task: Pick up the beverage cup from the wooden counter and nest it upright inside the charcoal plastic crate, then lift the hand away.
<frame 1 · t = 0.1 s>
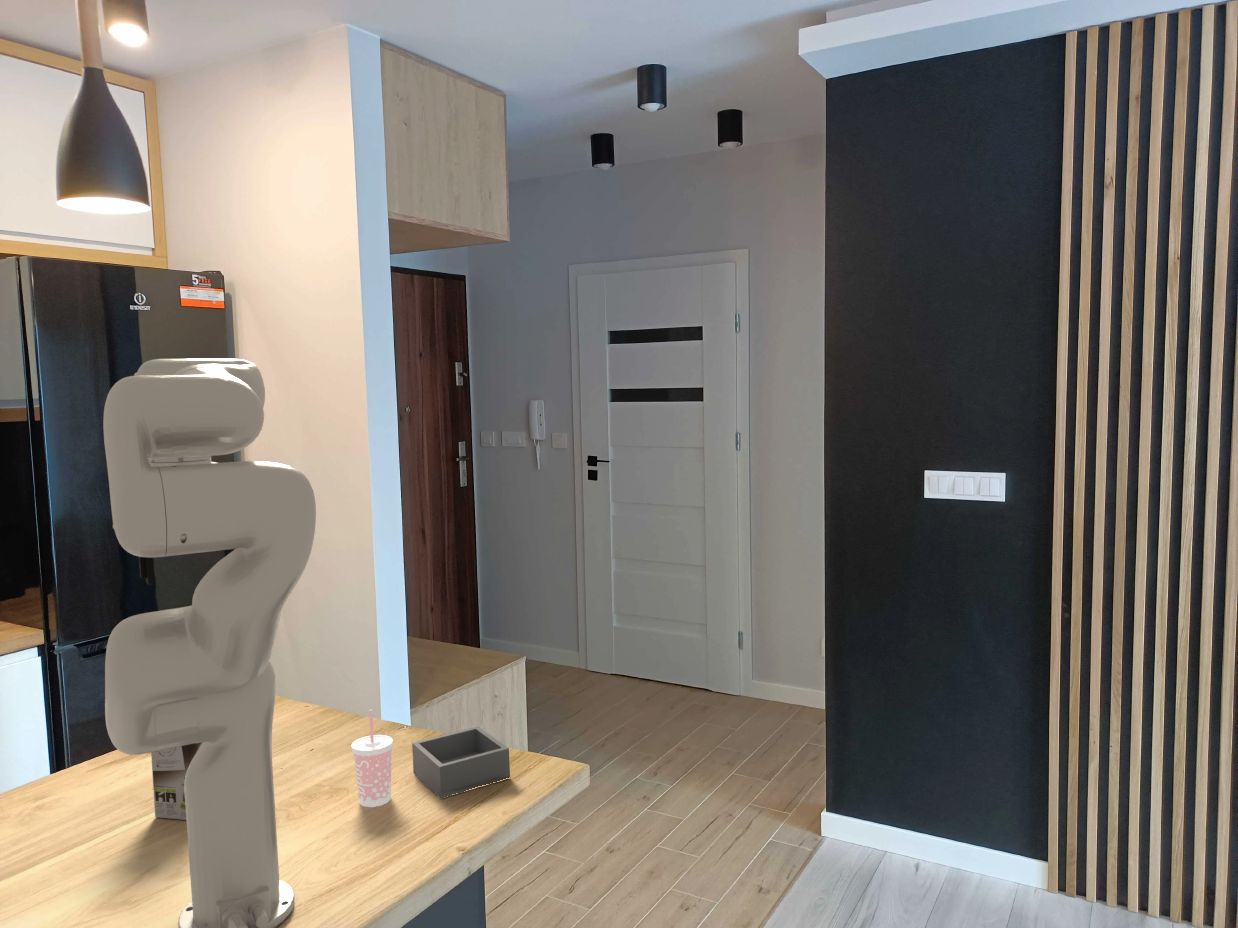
hand: (189, 577, 122), 37 cm above the table, tool pointing down, fingers open, 9 cm apart
beverage cup: (375, 801, 134), on the table
coffee box: (193, 806, 134), on the table
crate: (461, 775, 141), on the table
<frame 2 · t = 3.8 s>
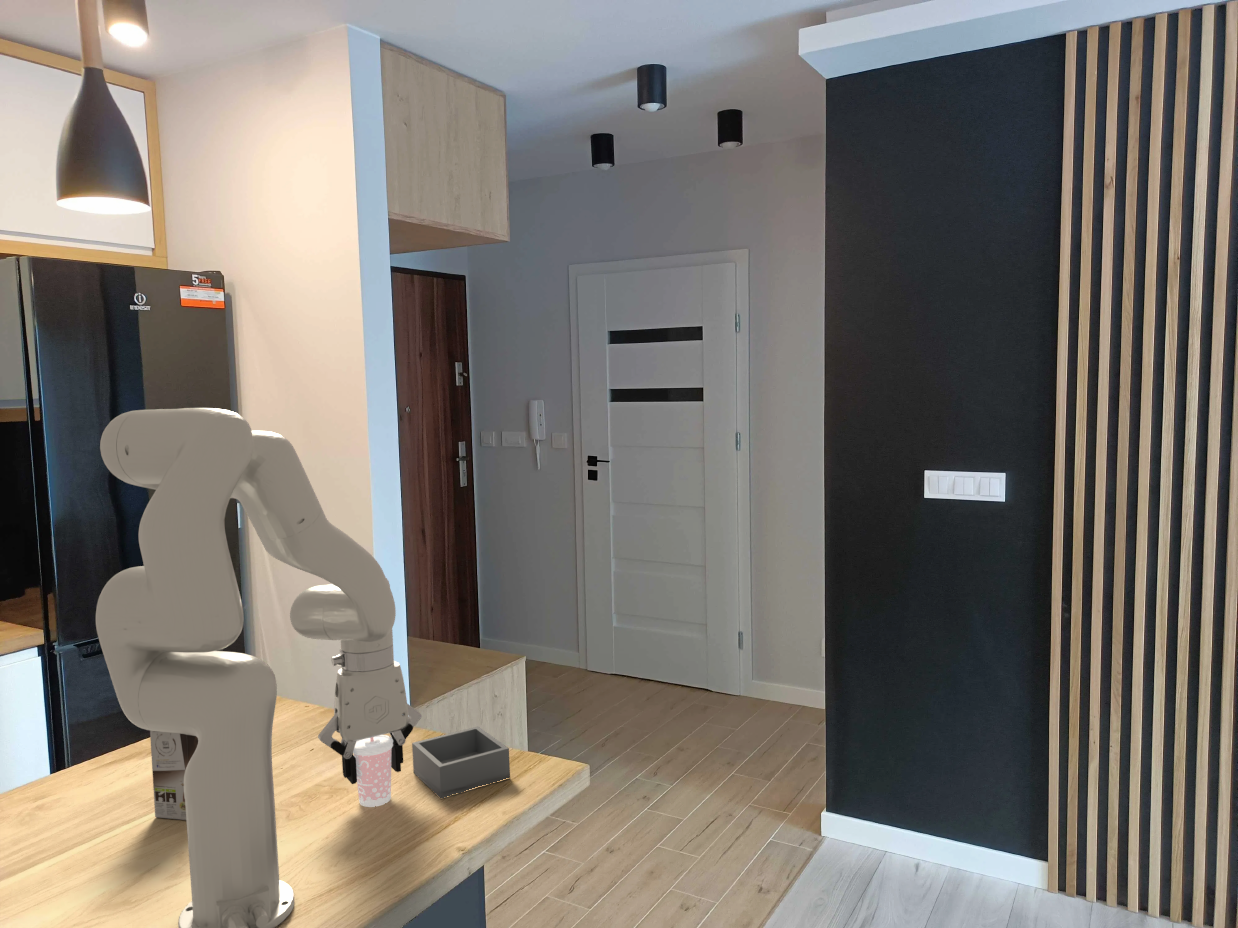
hand: (373, 773, 134), 4 cm above the table, tool pointing down, fingers closed on beverage cup, 6 cm apart
beverage cup: (375, 801, 134), on the table, touching gripper
everything else where it was.
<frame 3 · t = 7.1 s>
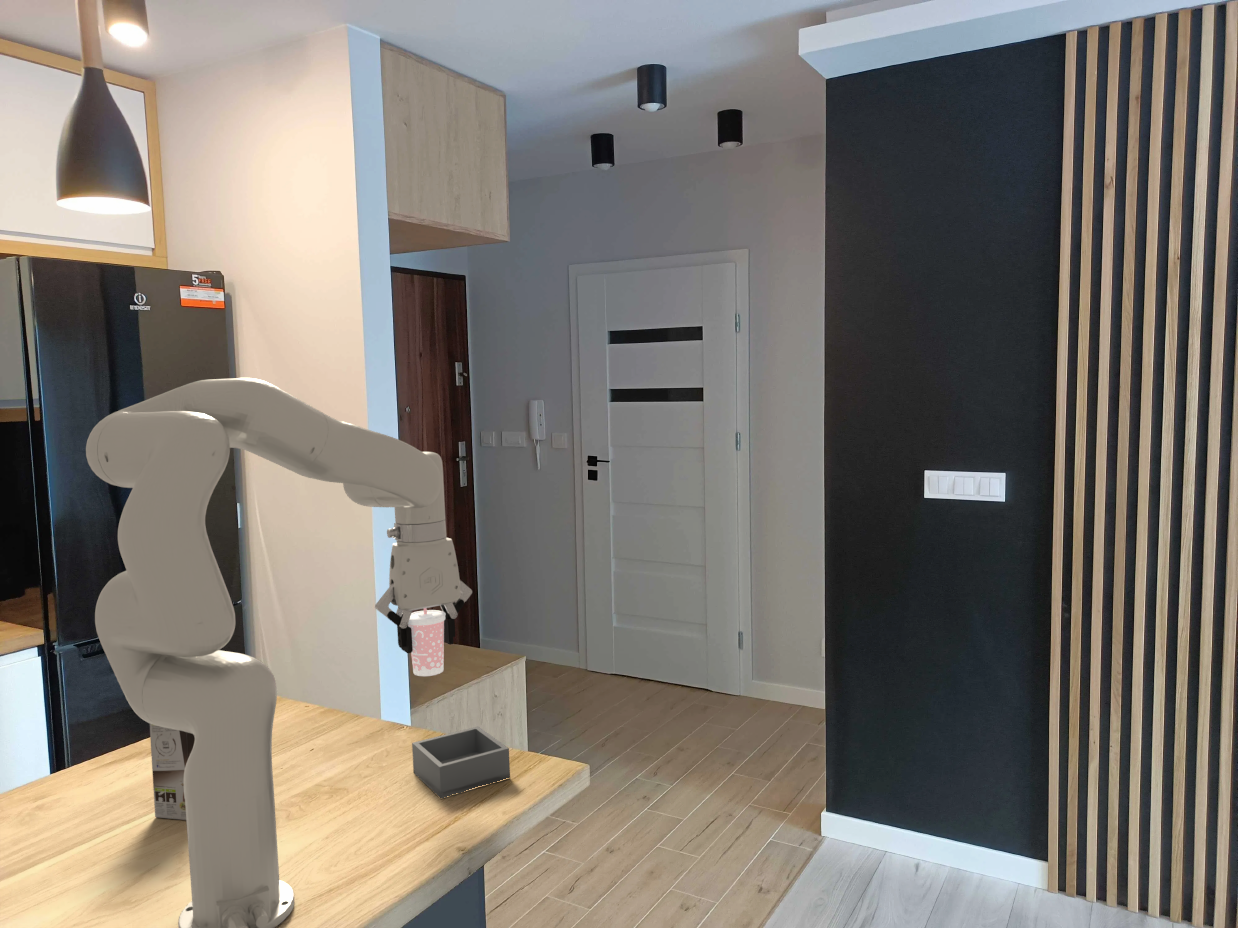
hand: (427, 645, 137), 22 cm above the table, tool pointing down, fingers closed on beverage cup, 6 cm apart
beverage cup: (428, 672, 138), point 18 cm above the table, touching gripper
everything else where it was.
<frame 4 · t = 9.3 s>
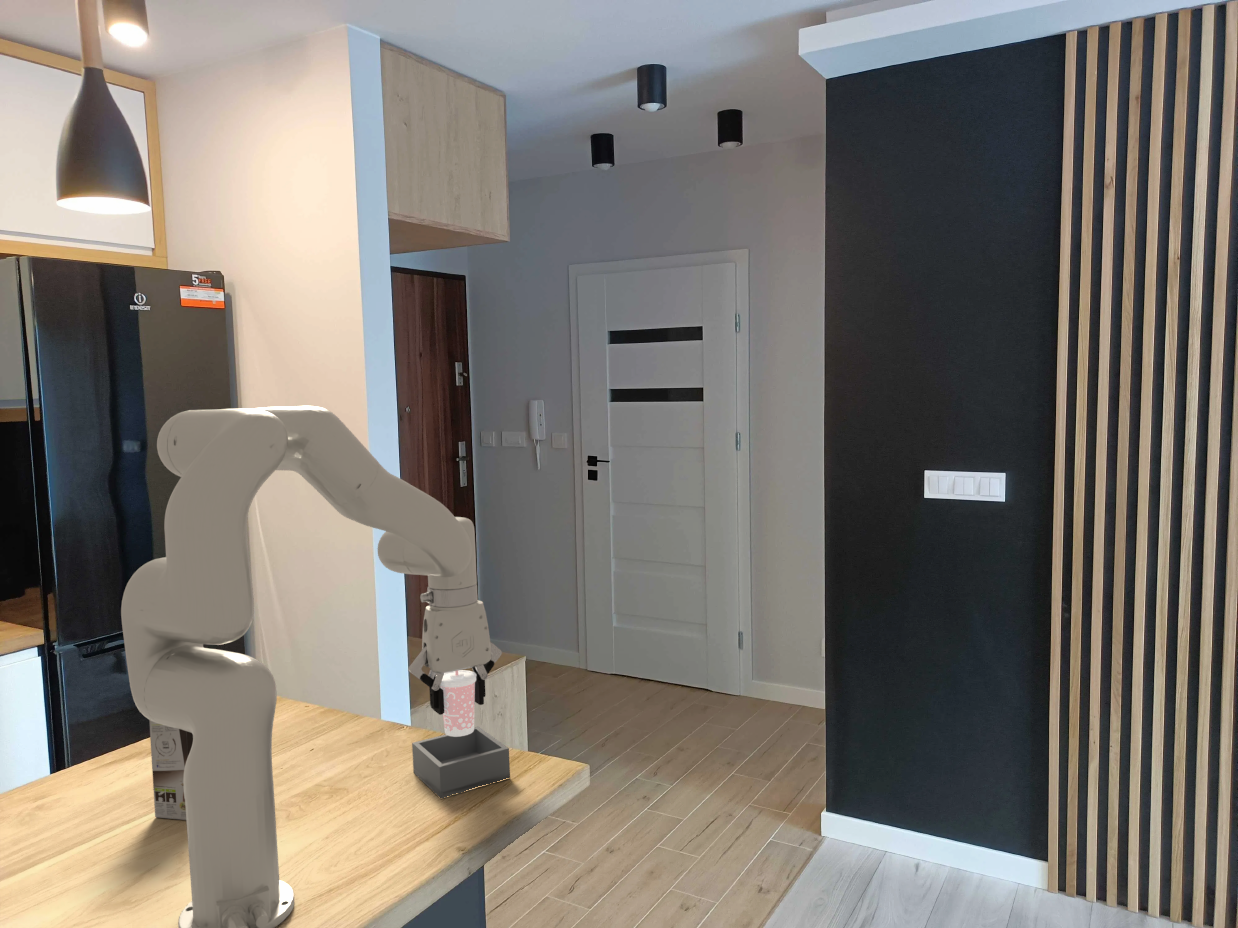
hand: (458, 706, 141), 11 cm above the table, tool pointing down, fingers closed on beverage cup, 6 cm apart
beverage cup: (459, 732, 141), point 7 cm above the table, touching gripper
everything else where it was.
when the fingers open (7 cm above the table, at t = 10.7 s): beverage cup drops 2 cm, resting on crate.
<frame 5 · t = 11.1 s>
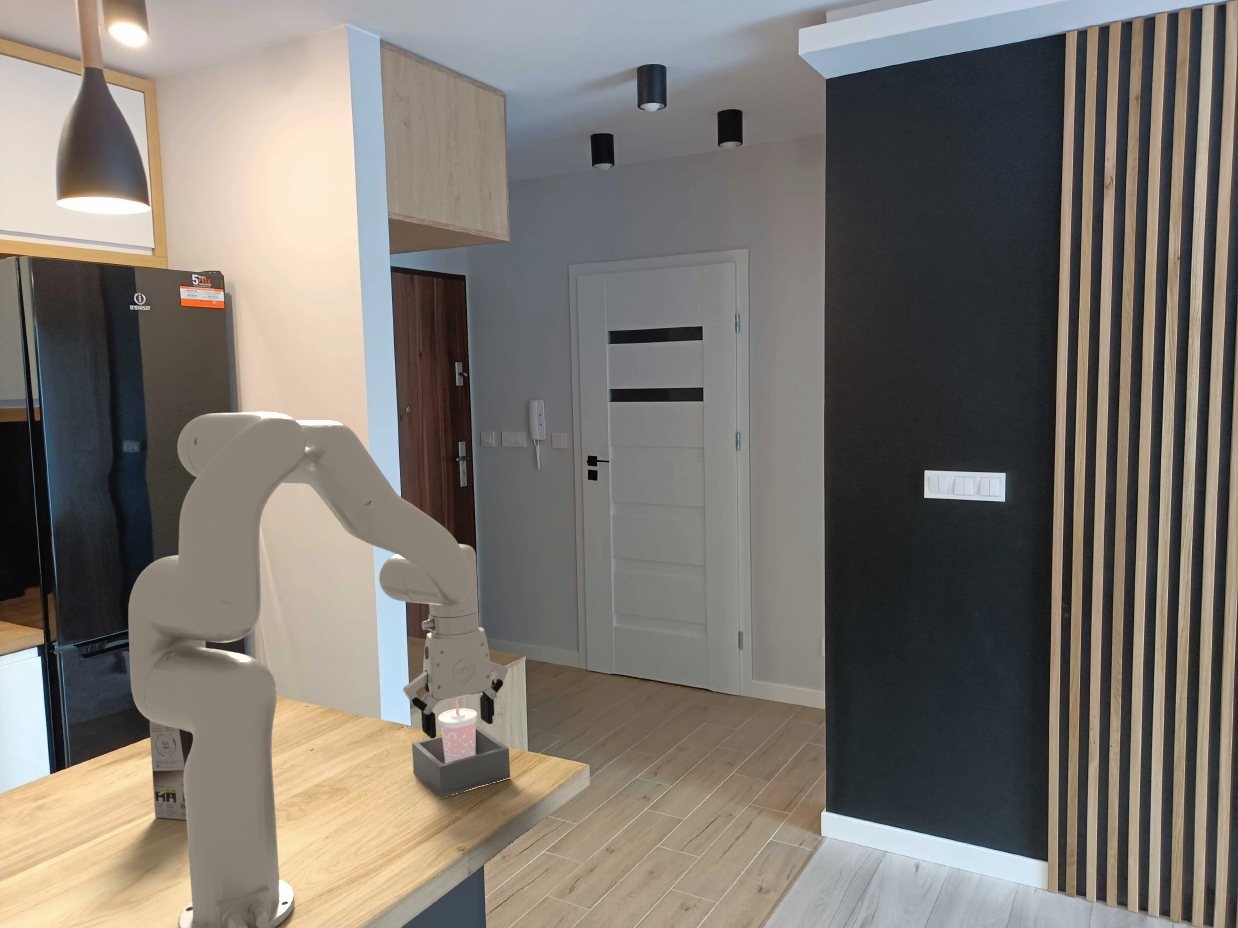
hand: (459, 728, 141), 8 cm above the table, tool pointing down, fingers open, 9 cm apart
beverage cup: (461, 770, 141), point 1 cm above the table, touching crate
everything else where it was.
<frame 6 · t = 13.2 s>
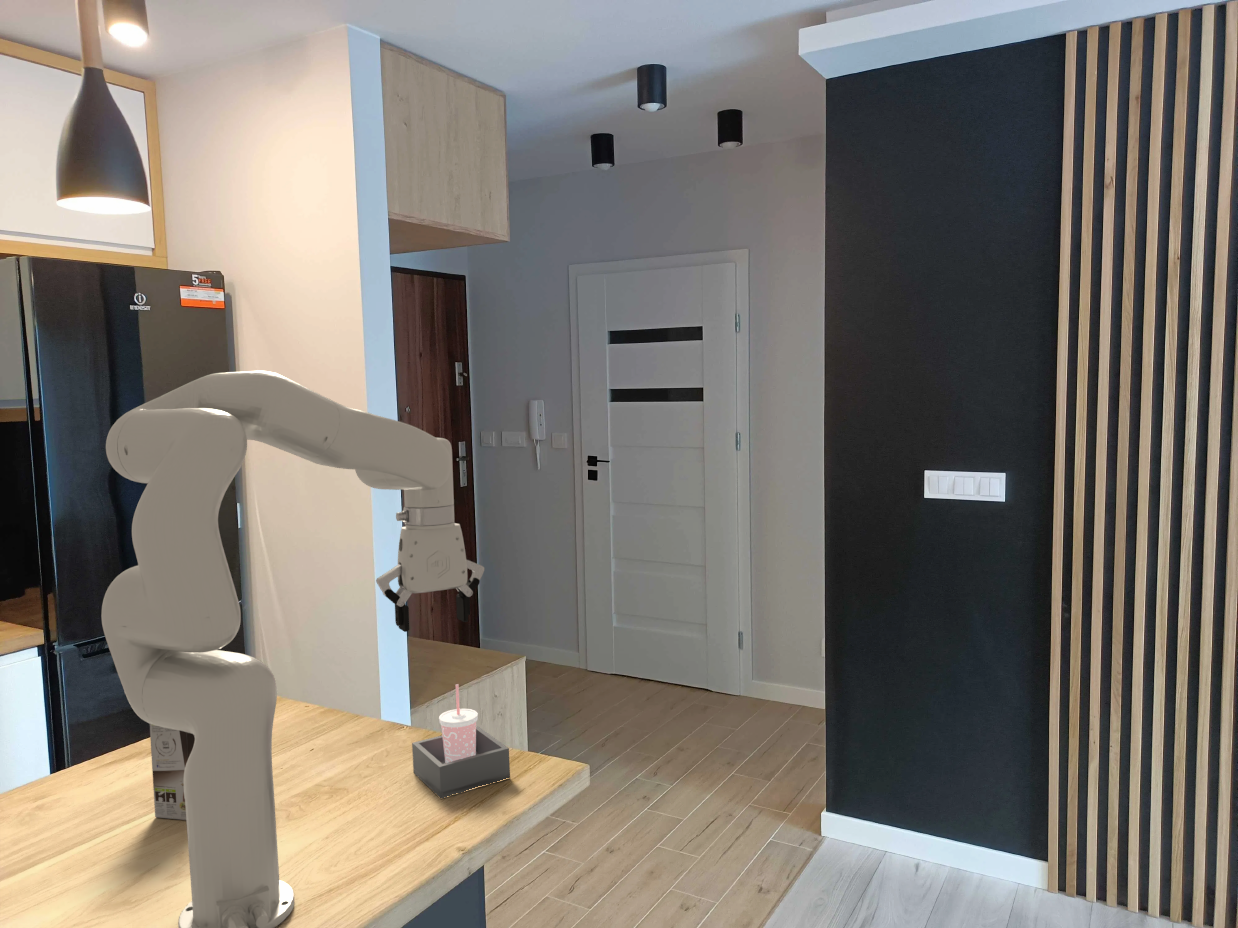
hand: (433, 624, 139), 25 cm above the table, tool pointing down, fingers open, 9 cm apart
nothing on the table moved.
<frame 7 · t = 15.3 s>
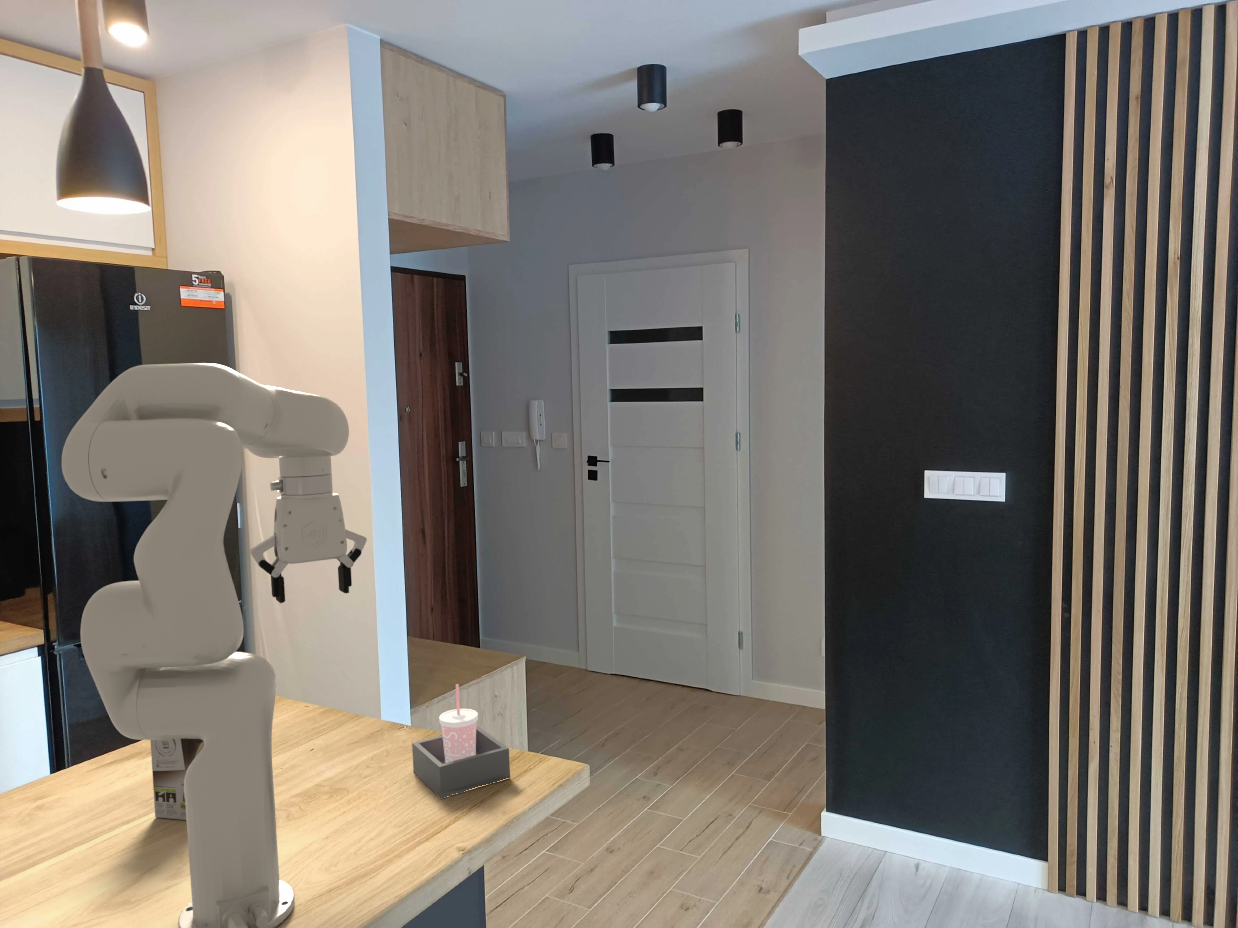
hand: (312, 596, 137), 30 cm above the table, tool pointing down, fingers open, 9 cm apart
nothing on the table moved.
at the end: beverage cup 0.1 cm off-centre on the crate, point 0.8 cm above the crate's base; beverage cup tilted 0°; the gripper is holding nothing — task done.
